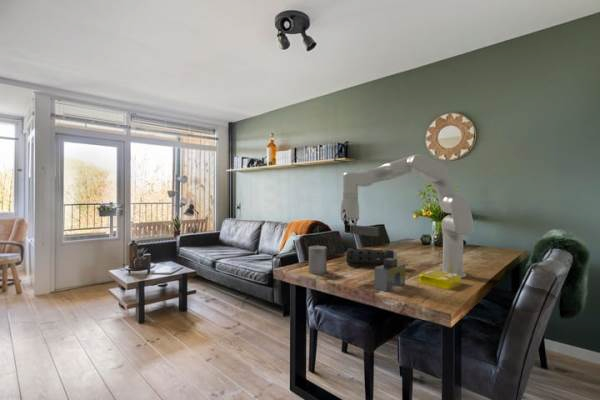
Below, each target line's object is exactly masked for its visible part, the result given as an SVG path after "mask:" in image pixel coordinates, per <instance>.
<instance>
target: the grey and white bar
mask: <svg viewBox="0 0 600 400" xmlns="http://www.w3.org/2000/svg"><path fill="white" fill-rule="evenodd" d="M379 233H380V232H379V227H377V226H366V225H357V224H356V225H355V223H351V222H350V233H347V234H351V235H360V236H370V237H379ZM343 234H346V233H345V225H344V224H343Z"/></svg>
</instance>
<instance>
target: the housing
mask: <svg viewBox="0 0 600 400" xmlns="http://www.w3.org/2000/svg"><path fill="white" fill-rule="evenodd" d="M404 285H406V263H400V262H398V258H397V259H394V258H387V259H384V265H382V266H374V289H375V290H379V291H383V292H389V291H392V290H393V287H394V286H397V287H402V286H404Z"/></svg>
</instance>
